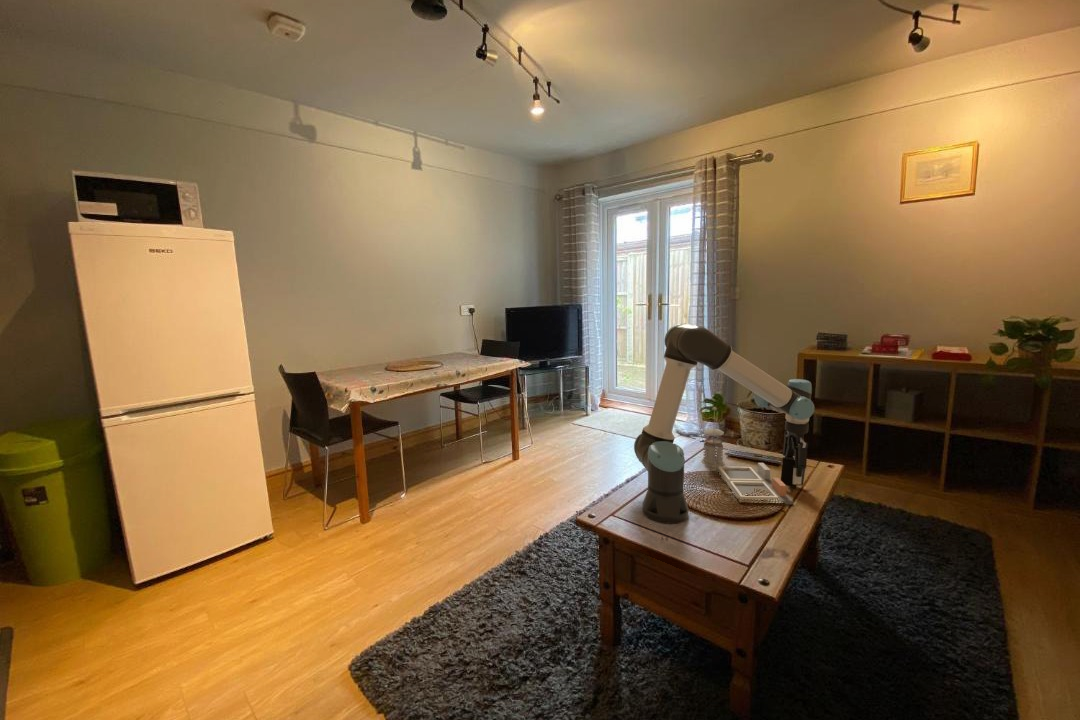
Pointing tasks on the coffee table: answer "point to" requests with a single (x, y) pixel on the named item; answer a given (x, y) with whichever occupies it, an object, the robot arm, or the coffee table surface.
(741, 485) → the dock board
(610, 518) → the coffee table surface
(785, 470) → the speaker
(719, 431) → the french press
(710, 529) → the coffee table surface
